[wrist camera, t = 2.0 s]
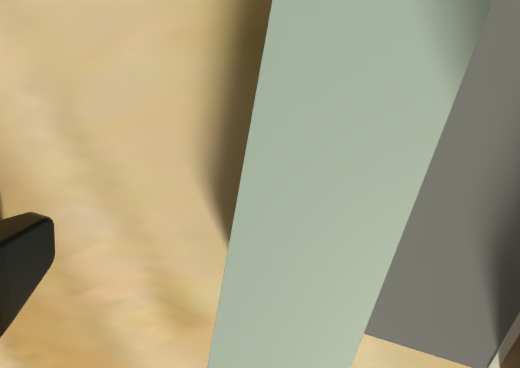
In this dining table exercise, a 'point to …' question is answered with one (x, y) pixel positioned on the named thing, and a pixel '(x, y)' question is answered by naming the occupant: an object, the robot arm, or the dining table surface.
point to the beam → (334, 170)
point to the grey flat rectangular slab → (465, 219)
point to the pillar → (512, 356)
